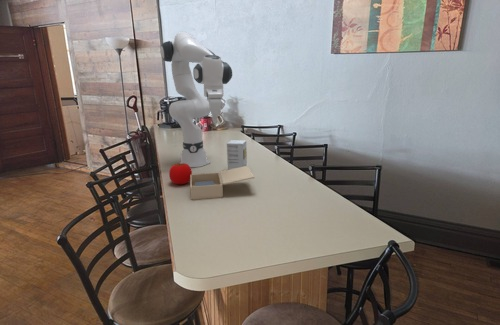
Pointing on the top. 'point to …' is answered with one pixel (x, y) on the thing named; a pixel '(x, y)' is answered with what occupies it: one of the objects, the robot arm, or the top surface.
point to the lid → (236, 175)
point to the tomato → (180, 173)
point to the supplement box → (236, 154)
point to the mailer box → (206, 186)
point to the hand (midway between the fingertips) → (214, 122)
